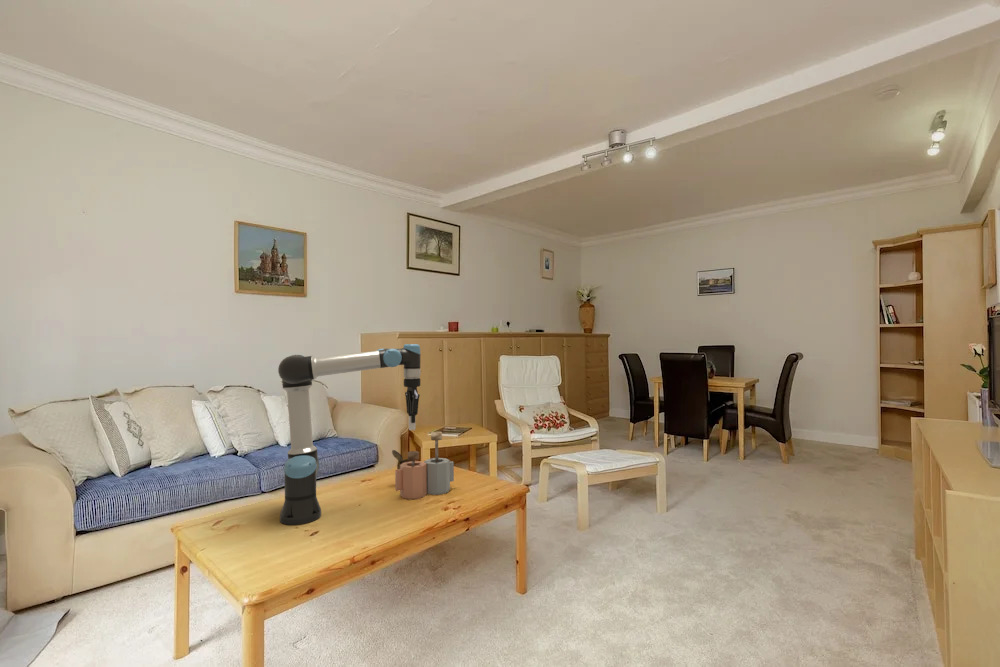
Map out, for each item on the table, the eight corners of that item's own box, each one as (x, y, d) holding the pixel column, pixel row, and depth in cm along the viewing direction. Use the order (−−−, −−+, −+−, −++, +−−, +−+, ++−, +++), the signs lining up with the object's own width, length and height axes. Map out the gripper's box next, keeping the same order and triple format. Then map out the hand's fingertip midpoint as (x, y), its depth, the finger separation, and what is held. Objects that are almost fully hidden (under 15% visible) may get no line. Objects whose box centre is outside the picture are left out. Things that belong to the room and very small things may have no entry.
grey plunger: (433, 469, 219) (433, 433, 219) (429, 466, 223) (429, 432, 223) (444, 467, 221) (443, 432, 222) (439, 465, 226) (439, 431, 226)
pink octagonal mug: (399, 501, 207) (399, 469, 208) (392, 495, 217) (391, 464, 217) (429, 496, 214) (429, 465, 214) (420, 490, 224) (420, 460, 224)
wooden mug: (387, 485, 231) (387, 448, 231) (408, 479, 242) (408, 443, 242) (399, 489, 226) (398, 451, 226) (420, 482, 236) (420, 446, 236)
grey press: (430, 496, 214) (430, 465, 215) (421, 489, 224) (421, 460, 224) (458, 491, 221) (457, 460, 221) (448, 485, 231) (448, 456, 231)
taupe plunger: (410, 490, 213) (409, 454, 213) (406, 487, 217) (406, 452, 217) (420, 488, 215) (420, 452, 216) (416, 485, 220) (416, 450, 220)
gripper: (425, 378, 213) (425, 431, 213) (415, 376, 225) (415, 426, 224) (408, 379, 210) (409, 432, 209) (399, 377, 221) (399, 428, 220)
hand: (412, 429), depth 217 cm, fingers closed
